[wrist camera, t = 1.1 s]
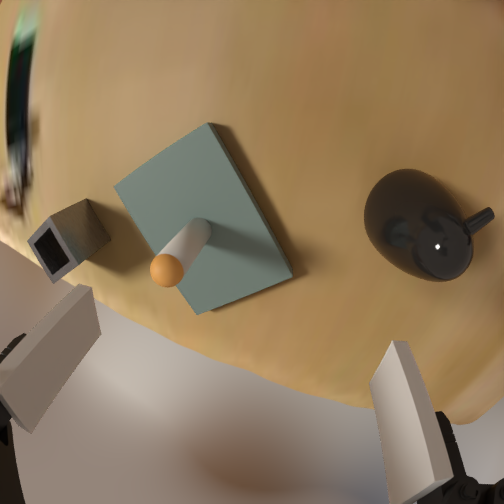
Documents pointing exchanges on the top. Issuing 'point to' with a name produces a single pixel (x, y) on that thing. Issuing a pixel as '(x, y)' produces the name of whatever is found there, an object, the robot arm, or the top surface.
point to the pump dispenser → (421, 226)
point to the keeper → (203, 223)
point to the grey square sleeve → (68, 239)
